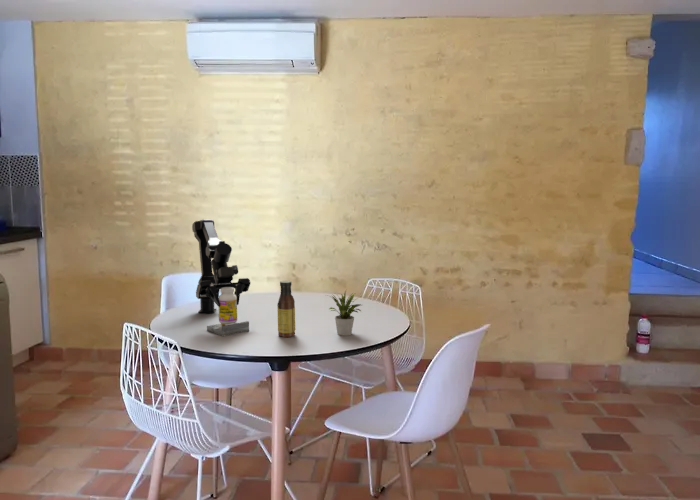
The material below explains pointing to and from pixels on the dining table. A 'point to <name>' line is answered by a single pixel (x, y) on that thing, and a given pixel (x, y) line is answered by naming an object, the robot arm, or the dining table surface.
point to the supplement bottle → (227, 306)
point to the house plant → (345, 315)
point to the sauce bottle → (286, 311)
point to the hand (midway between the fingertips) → (228, 305)
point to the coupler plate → (229, 328)
